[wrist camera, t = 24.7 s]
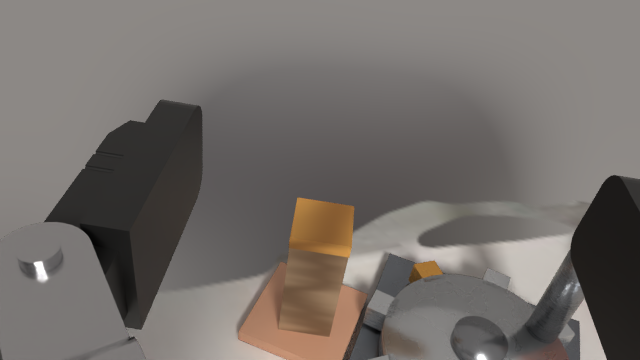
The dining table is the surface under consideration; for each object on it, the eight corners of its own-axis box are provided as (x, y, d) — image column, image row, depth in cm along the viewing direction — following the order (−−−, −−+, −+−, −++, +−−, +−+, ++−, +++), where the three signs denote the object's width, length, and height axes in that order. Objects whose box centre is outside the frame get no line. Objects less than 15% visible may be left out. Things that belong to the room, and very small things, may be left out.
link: (277, 329, 42) (290, 237, 36) (284, 288, 45) (297, 197, 39) (329, 337, 42) (351, 247, 36) (333, 296, 45) (354, 206, 39)
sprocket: (422, 513, 33) (515, 364, 23) (328, 295, 45) (362, 135, 35) (632, 438, 39) (781, 292, 29) (499, 262, 51) (570, 116, 41)
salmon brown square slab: (238, 339, 42) (238, 331, 42) (280, 269, 48) (281, 261, 48) (335, 379, 41) (337, 371, 40) (365, 301, 47) (367, 294, 46)
